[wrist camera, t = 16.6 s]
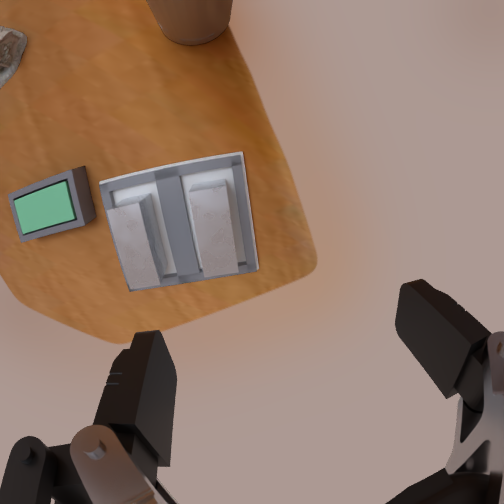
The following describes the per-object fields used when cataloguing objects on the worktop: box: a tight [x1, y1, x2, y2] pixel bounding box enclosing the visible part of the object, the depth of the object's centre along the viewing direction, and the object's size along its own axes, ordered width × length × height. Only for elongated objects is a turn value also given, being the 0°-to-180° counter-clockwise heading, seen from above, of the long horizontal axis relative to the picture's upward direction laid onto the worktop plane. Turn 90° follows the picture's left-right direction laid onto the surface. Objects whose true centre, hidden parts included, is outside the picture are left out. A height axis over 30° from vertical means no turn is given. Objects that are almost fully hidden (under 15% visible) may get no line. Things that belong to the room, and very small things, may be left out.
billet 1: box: [107, 193, 168, 289], centre depth 33 cm, size 10×4×6 cm, turn 8°
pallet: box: [99, 151, 259, 292], centre depth 36 cm, size 16×19×2 cm
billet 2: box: [188, 179, 239, 277], centre depth 34 cm, size 4×10×6 cm, turn 6°
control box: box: [8, 166, 96, 243], centre depth 32 cm, size 7×12×4 cm, turn 98°
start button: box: [14, 181, 77, 234], centre depth 31 cm, size 5×10×2 cm, turn 98°
